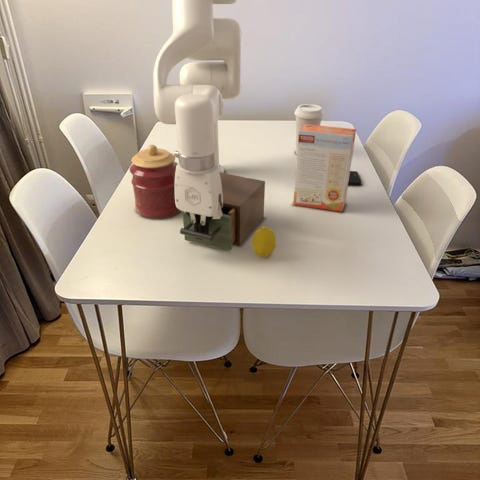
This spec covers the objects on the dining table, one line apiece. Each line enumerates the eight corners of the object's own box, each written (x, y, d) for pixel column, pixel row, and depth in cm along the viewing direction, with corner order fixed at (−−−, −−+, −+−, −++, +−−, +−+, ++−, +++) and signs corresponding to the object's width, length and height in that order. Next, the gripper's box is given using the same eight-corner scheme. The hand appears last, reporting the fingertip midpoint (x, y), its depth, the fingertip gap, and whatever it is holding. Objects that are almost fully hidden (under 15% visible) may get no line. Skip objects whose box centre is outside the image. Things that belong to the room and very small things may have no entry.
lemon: (273, 264, 107) (274, 234, 102) (250, 261, 108) (250, 231, 103) (276, 252, 112) (278, 222, 106) (254, 249, 112) (254, 220, 107)
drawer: (220, 262, 107) (218, 228, 101) (173, 250, 110) (170, 217, 105) (253, 224, 120) (254, 192, 115) (211, 214, 124) (210, 183, 118)
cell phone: (300, 172, 148) (300, 169, 147) (356, 173, 147) (357, 171, 146) (301, 184, 141) (302, 181, 140) (360, 185, 140) (361, 182, 139)
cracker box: (345, 203, 131) (357, 128, 118) (341, 213, 127) (354, 135, 113) (297, 196, 135) (304, 122, 121) (292, 205, 130) (298, 129, 117)
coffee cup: (323, 151, 162) (328, 106, 152) (311, 160, 156) (316, 113, 146) (299, 146, 166) (303, 101, 156) (286, 154, 160) (289, 108, 150)
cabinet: (239, 246, 114) (239, 206, 107) (191, 234, 118) (188, 195, 111) (263, 218, 125) (265, 181, 118) (218, 208, 129) (217, 172, 122)
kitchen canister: (127, 215, 126) (116, 150, 115) (150, 195, 135) (141, 134, 124) (169, 223, 123) (162, 157, 111) (190, 202, 132) (185, 139, 120)
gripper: (157, 160, 96) (166, 237, 108) (221, 172, 91) (223, 251, 103) (175, 148, 101) (182, 223, 113) (237, 159, 97) (237, 236, 108)
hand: (201, 236), depth 108 cm, fingers closed
